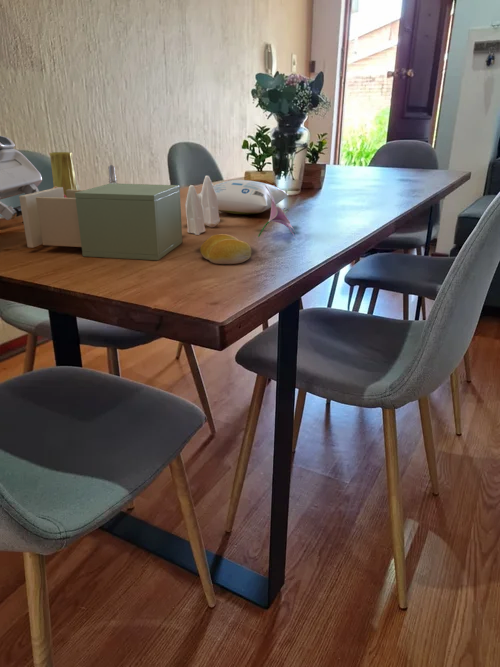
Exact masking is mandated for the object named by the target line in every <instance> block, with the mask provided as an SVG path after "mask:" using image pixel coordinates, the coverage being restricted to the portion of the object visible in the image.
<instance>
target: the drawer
mask: <svg viewBox="0 0 500 667" xmlns="http://www.w3.org/2000/svg"><path fill="white" fill-rule="evenodd" d="M83 190H84V189H77V190H66V194H67V198H64V191H63V187H57V188H53V187H52V188H48V189H44V190H39V192H35V193H30V194H21V195H18V198H19V205H18V206H14V207H12V208H13V209H14V210H15V211H16V212H17V215H16V216H15V218H16V217H21V216H22V222H23V223H22V224H23V228H24V234H25V241H26V246H27V248H36V247H39V246H41V245H43V246H54V247H71V248H74V247H76V248H82V246H81V238H80V230H79V222H78V214H77V206H76V198H75V193H76V192H80V191H83Z"/></svg>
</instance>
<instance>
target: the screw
mask: <svg viewBox="0 0 500 667" xmlns="http://www.w3.org/2000/svg"><path fill="white" fill-rule="evenodd" d="M107 170H108V184H110V183H116V184H118V182H117V181H118V180H117V176H116V169H115V166H114V165H112V164H110V165H108V169H107Z"/></svg>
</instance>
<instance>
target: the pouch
mask: <svg viewBox="0 0 500 667" xmlns="http://www.w3.org/2000/svg"><path fill="white" fill-rule="evenodd" d="M264 184H265V185H264ZM213 187H214V190H215V192H216V195H217V200H218V211H219V212H221V213H226V214H235V215H256V214H261V213H264V212H266V211H267V210H269V209H271V204H272V203H271V199H272V196H273V198H274V201H275V204H276V205H277V204H279V203H280V202H283V200H285V199H286V198H287V197H288V196H289V194H288V193H287V192H285V191H284V190H283V189H281V188H280V187H277V186H275V185H272V184H270V183H265V182H261V181H254V180H247V179H231V180H226V181H223V182H220V183H216V184H213ZM266 187H267V188H268V189H267V188H266ZM268 190H269V191H270V193H271V194H270V193H269V191H268ZM197 195H198V197H199V199H200V202H201V191H200V192H199V193H197ZM268 195H269V196H270V198H271V199H270V198H269V196H268ZM271 195H272V196H271ZM272 201H273V199H272Z"/></svg>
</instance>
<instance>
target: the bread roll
mask: <svg viewBox="0 0 500 667" xmlns="http://www.w3.org/2000/svg"><path fill="white" fill-rule="evenodd" d="M199 251H200V254H201V256H202V257H203V258H204V259H205V260H208V261H209V262H211V263H213V264H216V265H238V264H242V263H244V262H246V261H248V260H249V259H250V258H251V257H252V247H251V246H250V244H249V243H248V242H246V241H244V240H241V239H238V238H236V237H235V236H233V235H230V234H226V233H218V234H213V235H211V236H209V237H208V238H207V239H206V240H205V241H204V242H203V243H202V244H201V245H200V248H199Z"/></svg>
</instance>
